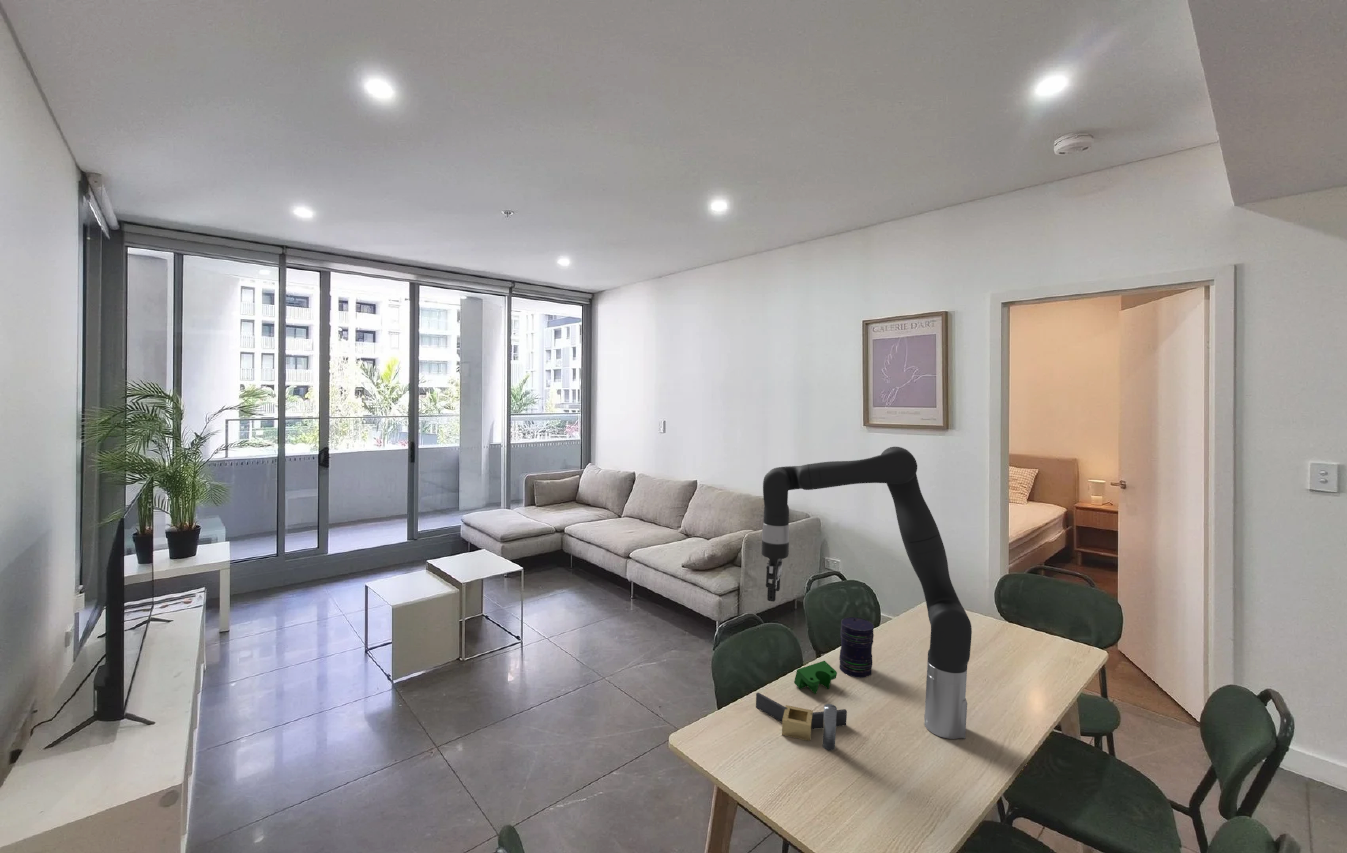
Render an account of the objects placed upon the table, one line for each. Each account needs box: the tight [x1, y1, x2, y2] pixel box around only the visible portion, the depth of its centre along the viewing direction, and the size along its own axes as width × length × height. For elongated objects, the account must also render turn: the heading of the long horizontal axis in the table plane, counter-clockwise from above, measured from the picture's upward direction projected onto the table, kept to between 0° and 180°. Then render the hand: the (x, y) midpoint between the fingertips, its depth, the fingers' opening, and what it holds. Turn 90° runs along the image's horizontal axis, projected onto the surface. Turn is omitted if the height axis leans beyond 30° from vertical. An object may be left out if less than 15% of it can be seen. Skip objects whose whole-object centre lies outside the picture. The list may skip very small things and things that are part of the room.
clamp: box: [793, 660, 838, 695], centre depth 162 cm, size 12×6×9 cm, turn 113°
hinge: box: [755, 692, 848, 742], centre depth 143 cm, size 24×11×4 cm, turn 72°
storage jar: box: [838, 616, 875, 679], centre depth 173 cm, size 10×10×15 cm
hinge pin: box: [821, 703, 838, 751], centre depth 135 cm, size 3×3×10 cm
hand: (773, 595), depth 156 cm, fingers open, 8 cm apart
